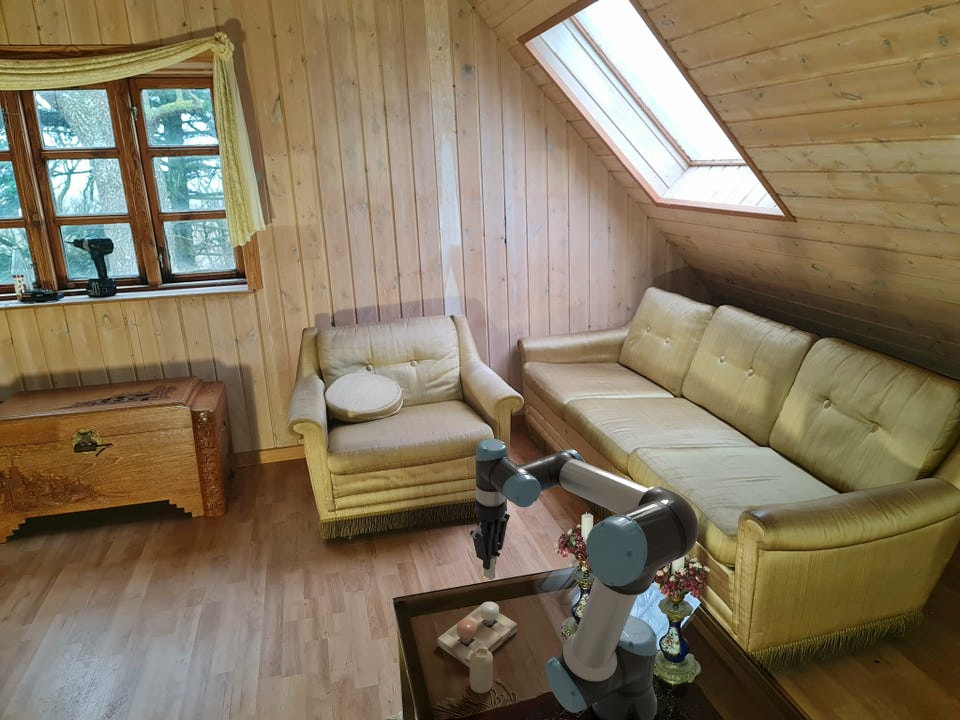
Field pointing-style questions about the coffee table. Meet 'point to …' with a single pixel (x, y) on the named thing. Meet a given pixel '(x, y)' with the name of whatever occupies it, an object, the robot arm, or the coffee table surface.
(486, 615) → the white round piece
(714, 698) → the coffee table surface
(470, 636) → the pink light bulb
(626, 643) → the robot arm
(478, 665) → the cream bottle
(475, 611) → the cream compartment tray
